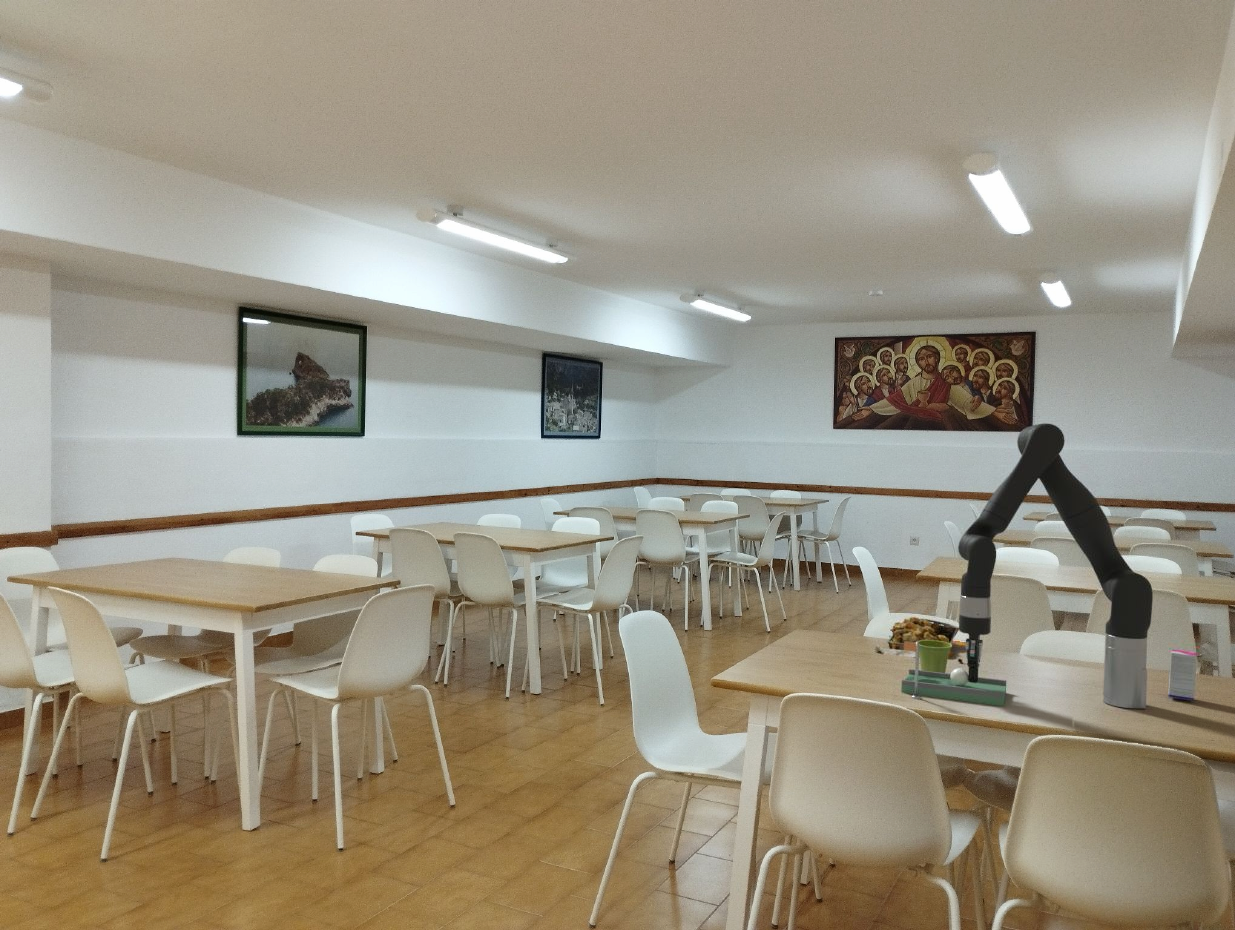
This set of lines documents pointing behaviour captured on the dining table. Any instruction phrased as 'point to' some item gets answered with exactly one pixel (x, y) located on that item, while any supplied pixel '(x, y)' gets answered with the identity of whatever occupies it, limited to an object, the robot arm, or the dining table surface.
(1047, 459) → the robot arm
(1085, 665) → the dining table surface
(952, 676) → the ball
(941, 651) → the plant pot
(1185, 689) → the supplement box
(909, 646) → the pin
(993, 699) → the lane
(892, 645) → the food tray
